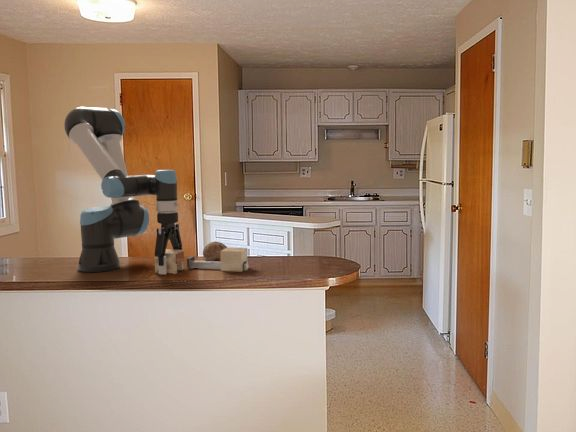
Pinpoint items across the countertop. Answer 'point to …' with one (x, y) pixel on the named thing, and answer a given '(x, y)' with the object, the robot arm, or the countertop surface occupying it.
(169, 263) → the slotted tan cube
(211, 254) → the seashell
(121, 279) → the countertop surface
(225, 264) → the rail
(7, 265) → the countertop surface
